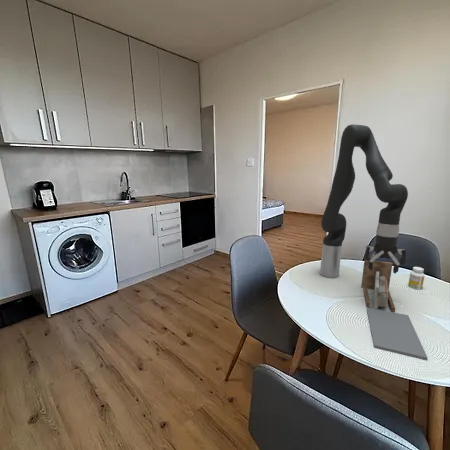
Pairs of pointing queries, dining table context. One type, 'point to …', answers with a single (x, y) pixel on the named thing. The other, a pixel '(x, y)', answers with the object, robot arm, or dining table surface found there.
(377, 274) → the packaged product
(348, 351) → the dining table surface
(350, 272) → the dining table surface
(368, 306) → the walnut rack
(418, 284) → the supplement bottle
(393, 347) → the charcoal pad
